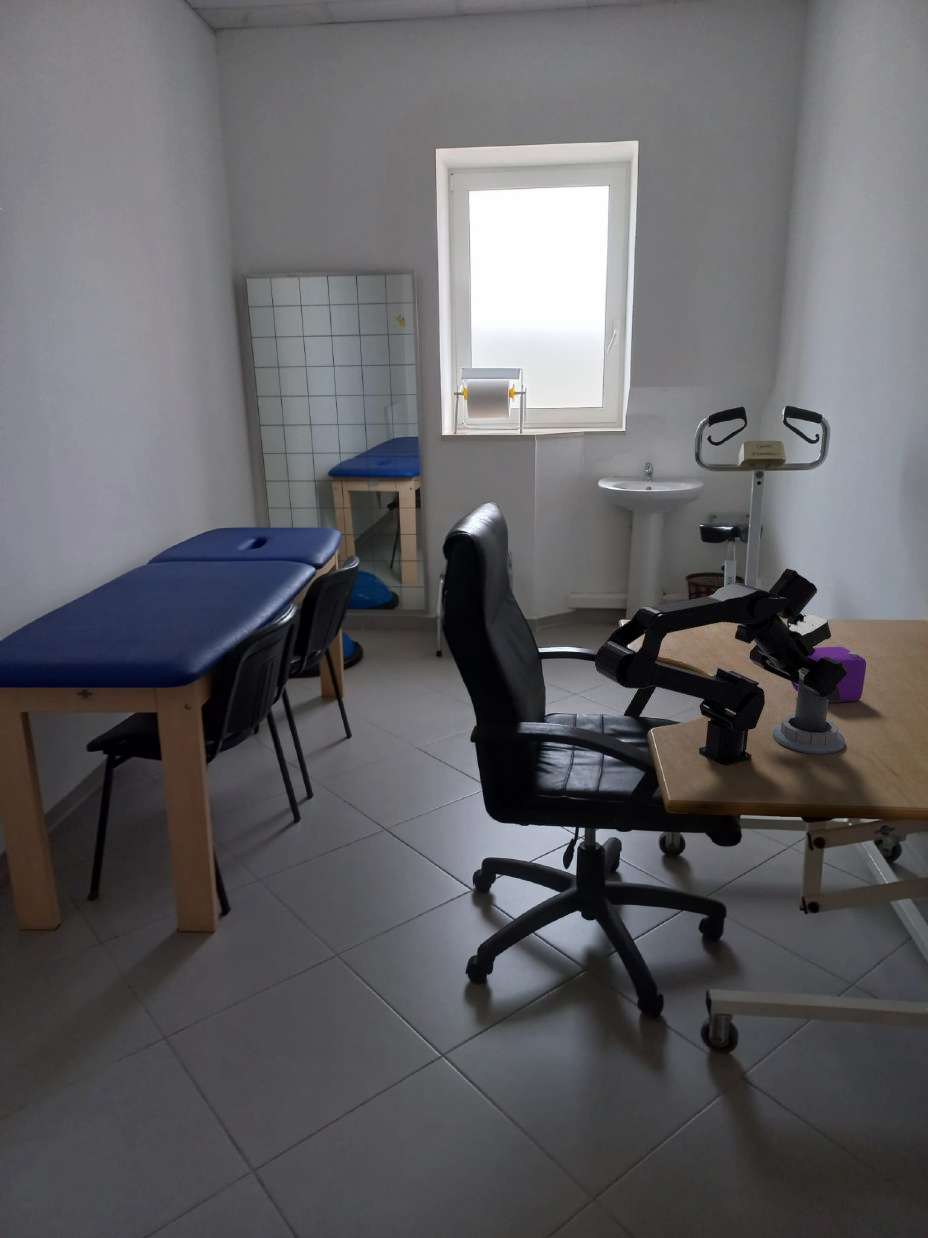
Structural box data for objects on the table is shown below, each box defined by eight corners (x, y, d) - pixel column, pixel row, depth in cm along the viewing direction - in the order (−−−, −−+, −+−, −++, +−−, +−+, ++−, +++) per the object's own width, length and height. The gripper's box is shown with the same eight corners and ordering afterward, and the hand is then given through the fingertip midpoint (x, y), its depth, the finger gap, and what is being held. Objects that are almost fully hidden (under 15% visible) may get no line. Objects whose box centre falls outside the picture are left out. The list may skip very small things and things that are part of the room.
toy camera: (777, 691, 177) (782, 646, 174) (829, 683, 181) (835, 639, 179) (815, 710, 167) (821, 662, 164) (868, 701, 172) (875, 654, 169)
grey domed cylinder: (825, 742, 150) (833, 678, 147) (792, 738, 152) (799, 674, 148) (824, 731, 155) (832, 668, 151) (792, 726, 157) (799, 665, 153)
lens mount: (811, 759, 146) (813, 743, 145) (758, 733, 156) (760, 718, 155) (859, 746, 151) (861, 730, 150) (805, 722, 161) (806, 707, 160)
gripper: (845, 617, 136) (889, 674, 143) (769, 590, 153) (812, 642, 160) (799, 668, 136) (846, 723, 143) (728, 636, 153) (773, 686, 160)
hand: (819, 691), depth 151 cm, fingers open, 9 cm apart
